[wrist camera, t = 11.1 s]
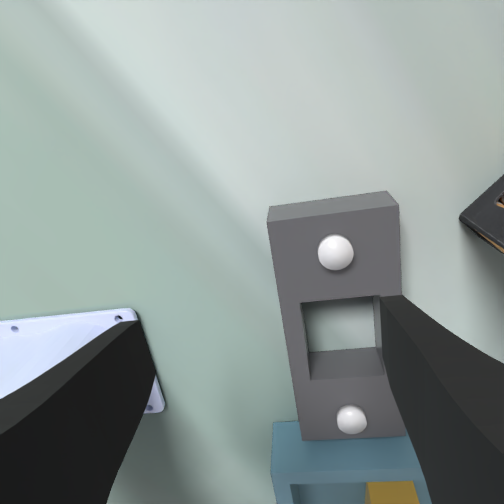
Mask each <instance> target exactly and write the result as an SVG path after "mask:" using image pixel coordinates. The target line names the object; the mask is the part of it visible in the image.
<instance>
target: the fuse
mask: <svg viewBox="0 0 504 504" xmlns="http://www.w3.org/2000/svg"><path fill="white" fill-rule="evenodd" d="M365 504H420V503H419V500H418V497H417V493H416V490H415V487H414V483H413V481H386V482H366V491H365Z"/></svg>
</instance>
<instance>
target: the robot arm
mask: <svg viewBox="0 0 504 504" xmlns="http://www.w3.org/2000/svg"><path fill="white" fill-rule="evenodd" d="M379 301H380V320H381V339H382V357H383V361H384V365H385V369H386V373H387V377H388V381H389V385H390V388H391V391H392V394H393V396H394V399H395V402H396V404H397V407H398V409H399V412H400V415H401V417H402V420H403V422H404V425H405V427H406V430H407V432H408V435H409V438H410V440H411V443H412V445H413V448H414V450H415V453H416V456H417V458H418V461H419V463H420V466H421V469H422V472H423V475H424V478H425V481H426V485H427V488H428V492H429V495H430V499H431V503H432V504H504V364H503V363H501V362H500V361H498V360H496V359H494V358H492V357H490V356H488V355H487V354H485V353H483V352H482V351H480V350H478V349H477V348H475V347H473V346H472V345H470V344H469V343H467V342H465V341H464V340H462V339H461V338H459V337H458V336H456V335H455V334H453V333H452V332H450V331H449V330H447V329H446V328H445V327H443V326H442V325H440V324H439V323H438V322H436V321H435V320H434V319H432V318H431V317H430V316H428V315H427V314H426V313H424V312H423V311H422V310H421V309H419V308H418V307H417V306H416V305H414V304H413V303H412V302H410V301H409V300H408V299H407V298H405V297H404V296H403V295H395V296H384V297H379ZM117 315H119V316H121V317H122V318H123V319H120V318H118V316H117ZM15 326H16V327H18V328H16V327H15ZM149 405H151V406H149ZM164 407H165V402H164V399H163V396H162V393H161V390H160V386H159V383H158V380H157V377H156V371H155V368H154V365H153V362H152V358H151V355H150V352H149V349H148V346H147V343H146V340H145V337H144V334H143V331H142V328H141V324H140V321H139V320H138V318H137V315H136V313H135V311H133V310H132V309H130V308H122V309H112V310H103V311H93V312H83V313H74V314H64V315H54V316H45V317H35V318H25V319H16V320H6V321H0V504H106V503H107V500H108V497H109V494H110V491H111V488H112V485H113V483H114V480H115V478H116V475H117V472H118V470H119V468H120V466H121V463H122V461H123V459H124V457H125V454H126V452H127V450H128V448H129V445H130V443H131V441H132V439H133V436H134V434H135V432H136V430H137V427H138V425H139V423H140V420H141V418H142V416H143V413H159V412H162V411H163V409H164Z"/></svg>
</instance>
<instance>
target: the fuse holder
mask: <svg viewBox="0 0 504 504" xmlns="http://www.w3.org/2000/svg"><path fill="white" fill-rule="evenodd" d="M267 228H268V234H269V240H270V246H271V253H272V259H273V265H274V271H275V277H276V283H277V290H278V296H279V302H280V308H281V314H282V320H283V327H284V333H285V339H286V345H287V351H288V357H289V363H290V370H291V376H292V382H293V388H294V394H295V400H296V407H297V413H298V419H299V425H300V431H301V437H302V441H310V440H331V439H353V438H374V437H396V436H406V429H405V425H404V422H403V420H402V417H401V415H400V412H399V409H398V407H397V404H396V402H395V399H394V396H393V394H392V391H391V388H390V385H389V381H388V377H387V373H386V369H385V365H384V361H383V357H382V339H381V320H380V301H379V297H384V296H395V295H402V292H401V258H400V224H399V204H398V203H397V202H396V201H395V200H394V199H393V197H392V196H391V195H390V194H389V193H388V192H387V191H381V192H374V193H366V194H359V195H352V196H344V197H337V198H330V199H322V200H315V201H308V202H300V203H293V204H286V205H278V206H271V207H269V211H268V217H267ZM363 296H373V309H374V326H375V342H376V347H371V348H359V349H346V350H334V351H321V352H309V351H308V344H307V337H306V329H305V322H304V315H303V308H302V302H312V301H322V300H332V299H343V298H353V297H363Z"/></svg>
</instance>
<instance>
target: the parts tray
mask: <svg viewBox="0 0 504 504" xmlns="http://www.w3.org/2000/svg"><path fill="white" fill-rule="evenodd" d="M405 429H406V427H405ZM271 477H272V482H273V487H274V492H275V496H276V501H277V504H365V491H366V482H386V481H413V483H414V487H415V490H416V493H417V497H418V500H419V503H420V504H432V503H431V499H430V495H429V492H428V488H427V485H426V481H425V478H424V475H423V472H422V469H421V466H420V463H419V461H418V458H417V456H416V453H415V450H414V448H413V445H412V443H411V440H410V438H409V435H408V432H407V430H406V436H396V437H374V438H353V439H331V440H310V441H302V437H301V431H300V425H299V421H292V422H274V423H273V439H272V457H271Z"/></svg>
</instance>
